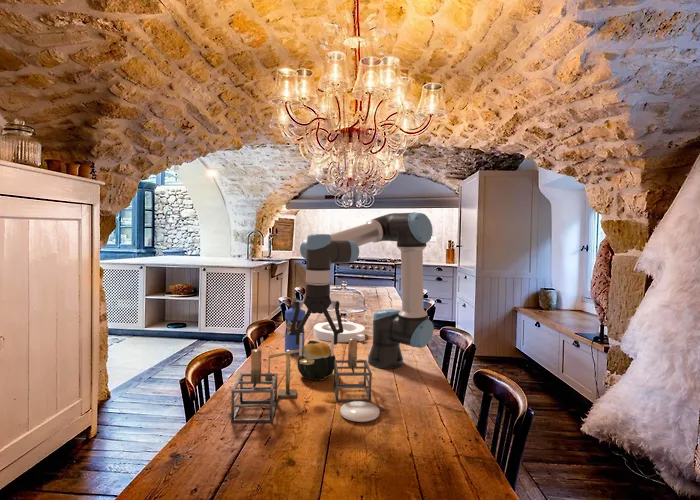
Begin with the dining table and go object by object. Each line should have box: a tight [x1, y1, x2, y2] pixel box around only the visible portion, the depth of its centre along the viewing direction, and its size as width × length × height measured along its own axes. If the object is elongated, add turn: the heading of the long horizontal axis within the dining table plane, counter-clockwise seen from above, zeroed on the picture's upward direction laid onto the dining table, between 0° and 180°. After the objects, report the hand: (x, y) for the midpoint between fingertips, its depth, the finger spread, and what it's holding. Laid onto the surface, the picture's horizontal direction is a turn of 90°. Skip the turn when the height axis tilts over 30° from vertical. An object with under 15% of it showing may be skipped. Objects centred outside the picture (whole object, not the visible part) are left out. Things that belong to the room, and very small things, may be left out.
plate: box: [339, 401, 380, 423], centre depth 119 cm, size 12×12×2 cm
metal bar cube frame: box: [333, 338, 373, 403], centre depth 135 cm, size 12×14×19 cm
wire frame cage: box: [230, 348, 278, 424], centre depth 119 cm, size 12×14×19 cm
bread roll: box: [302, 342, 331, 359], centre depth 122 cm, size 8×9×4 cm
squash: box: [297, 340, 336, 381], centre depth 150 cm, size 14×15×15 cm
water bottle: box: [284, 297, 306, 356], centre depth 180 cm, size 9×9×25 cm
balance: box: [261, 349, 314, 399], centre depth 132 cm, size 18×5×16 cm, turn 95°
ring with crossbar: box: [313, 321, 366, 343], centre depth 214 cm, size 28×28×5 cm
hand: (316, 354), depth 122 cm, fingers closed on bread roll, 9 cm apart
